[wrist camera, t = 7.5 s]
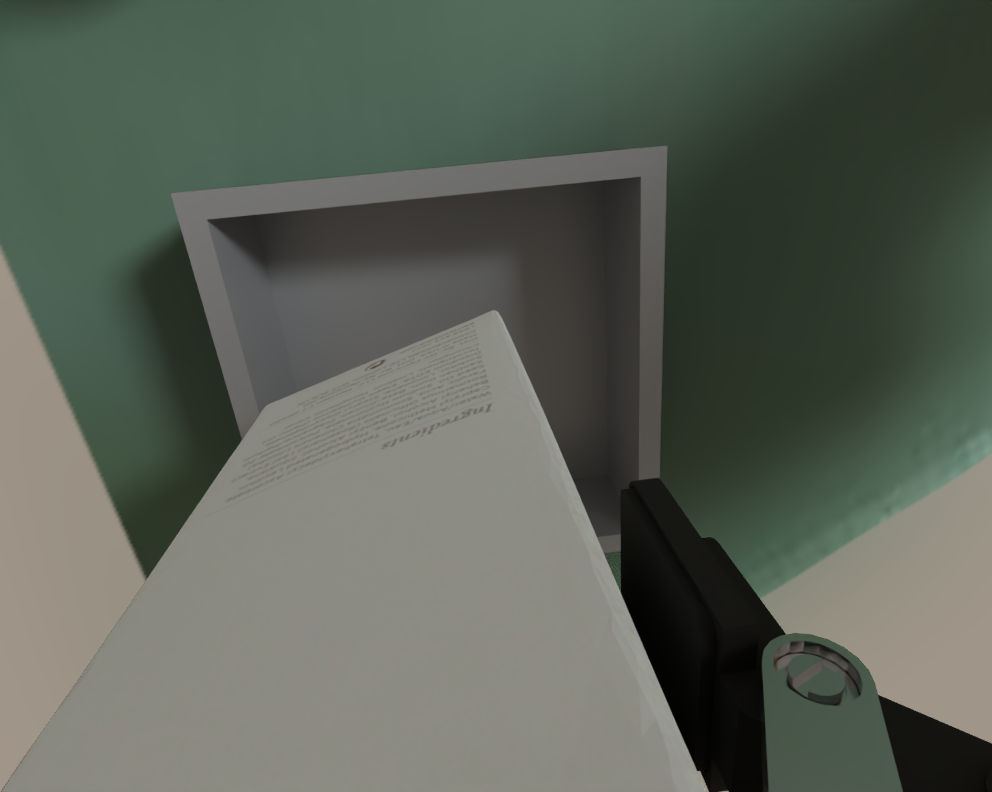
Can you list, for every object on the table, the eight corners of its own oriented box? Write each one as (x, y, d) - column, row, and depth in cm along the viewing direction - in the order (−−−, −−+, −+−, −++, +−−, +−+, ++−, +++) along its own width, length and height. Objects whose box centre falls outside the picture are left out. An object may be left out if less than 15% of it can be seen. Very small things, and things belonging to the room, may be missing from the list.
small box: (263, 399, 12) (-371, 1224, 3) (500, 300, 12) (738, 840, 2) (417, 649, 15) (378, 1465, 6) (611, 576, 15) (916, 1312, 5)
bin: (619, 149, 22) (667, 145, 17) (621, 481, 27) (658, 546, 23) (230, 187, 21) (170, 193, 16) (313, 519, 27) (286, 593, 22)
